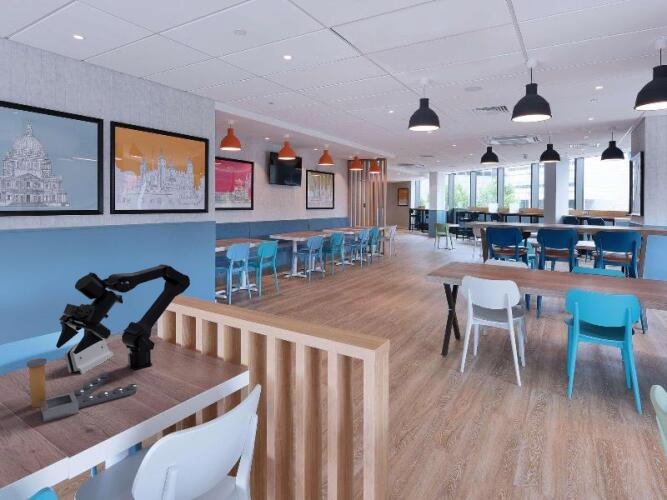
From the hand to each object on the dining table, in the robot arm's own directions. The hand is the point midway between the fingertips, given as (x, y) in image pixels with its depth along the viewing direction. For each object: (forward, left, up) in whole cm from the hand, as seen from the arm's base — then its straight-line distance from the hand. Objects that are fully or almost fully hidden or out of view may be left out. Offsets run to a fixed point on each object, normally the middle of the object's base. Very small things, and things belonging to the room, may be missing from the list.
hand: (65, 350), depth 124 cm
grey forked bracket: (-5, +5, -14) cm, 15 cm away
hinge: (-10, -21, -14) cm, 27 cm away
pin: (+7, +3, -14) cm, 16 cm away
